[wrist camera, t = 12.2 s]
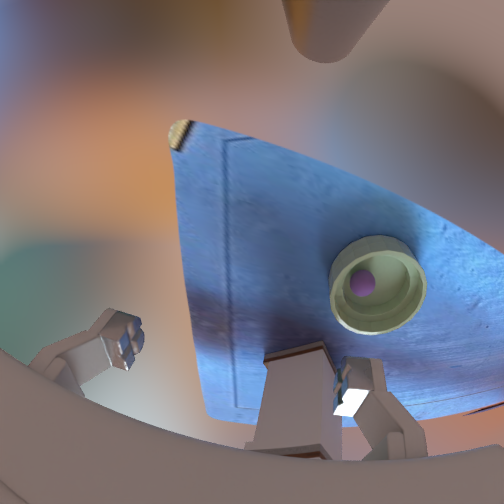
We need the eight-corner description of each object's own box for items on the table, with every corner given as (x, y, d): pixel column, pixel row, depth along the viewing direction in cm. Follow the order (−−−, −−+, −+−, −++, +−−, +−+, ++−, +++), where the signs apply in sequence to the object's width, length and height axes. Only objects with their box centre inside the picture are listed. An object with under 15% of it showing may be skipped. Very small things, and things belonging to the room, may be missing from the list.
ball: (370, 264, 39) (348, 264, 38) (383, 278, 36) (361, 279, 35) (363, 286, 40) (342, 287, 39) (375, 300, 37) (353, 302, 36)
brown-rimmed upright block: (264, 354, 50) (217, 550, 19) (322, 340, 46) (307, 559, 15) (289, 390, 54) (260, 558, 23) (340, 379, 50) (334, 560, 19)
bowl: (340, 225, 37) (344, 242, 33) (428, 242, 35) (440, 260, 31) (319, 306, 43) (320, 328, 39) (398, 317, 42) (405, 338, 37)
